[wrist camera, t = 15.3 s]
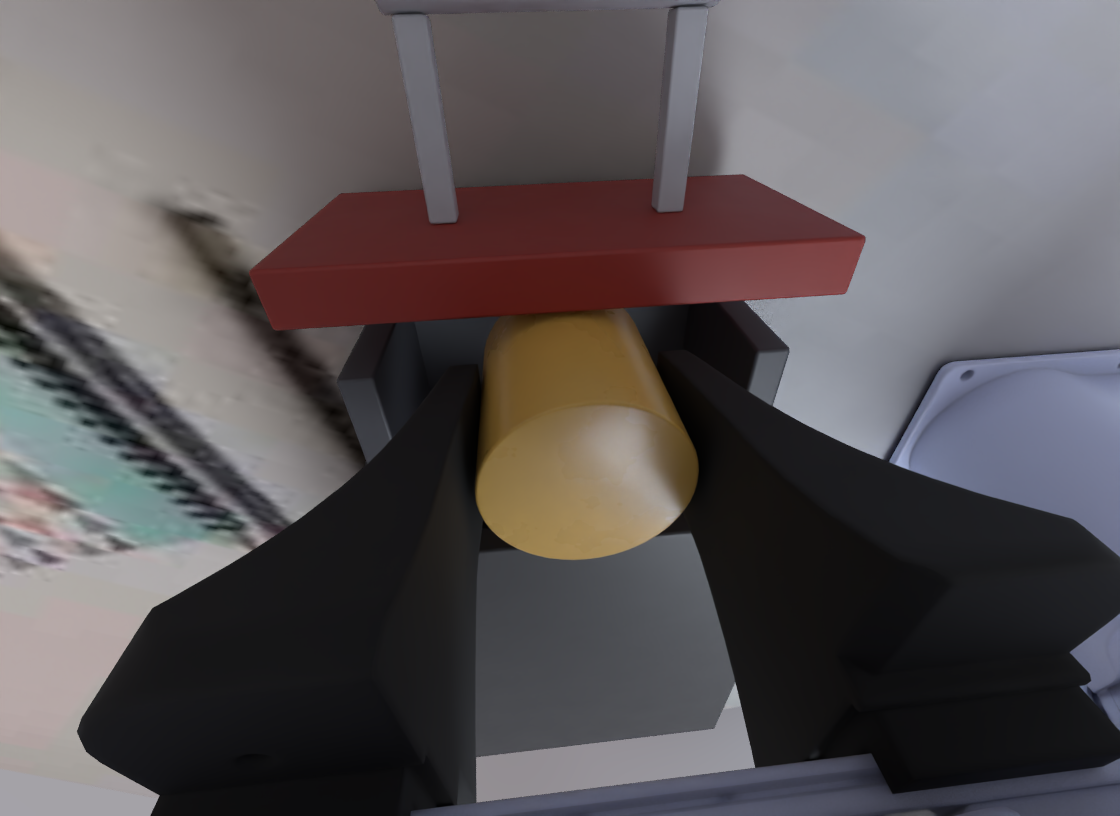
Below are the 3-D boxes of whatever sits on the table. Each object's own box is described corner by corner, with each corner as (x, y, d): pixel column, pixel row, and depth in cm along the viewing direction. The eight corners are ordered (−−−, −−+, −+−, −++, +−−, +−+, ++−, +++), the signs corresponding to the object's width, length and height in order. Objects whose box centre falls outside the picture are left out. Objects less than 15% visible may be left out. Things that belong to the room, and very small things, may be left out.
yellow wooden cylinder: (648, 280, 11) (718, 393, 7) (635, 416, 13) (683, 550, 10) (474, 291, 11) (457, 412, 7) (492, 427, 13) (488, 569, 9)
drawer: (266, -59, 10) (56, -156, 5) (791, -67, 11) (1015, -161, 6) (432, 517, 21) (411, 648, 16) (682, 494, 22) (730, 614, 17)
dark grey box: (388, 393, 18) (329, 566, 12) (711, 369, 19) (809, 521, 13) (451, 602, 27) (435, 762, 21) (668, 580, 27) (714, 729, 21)
